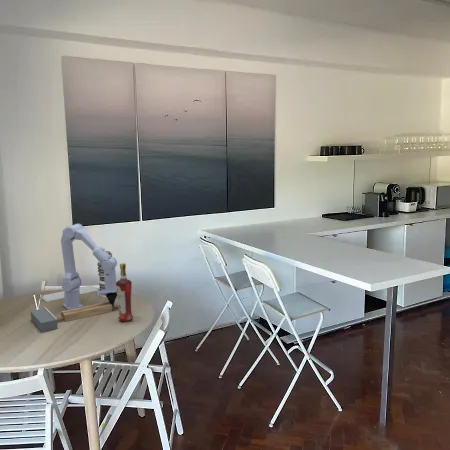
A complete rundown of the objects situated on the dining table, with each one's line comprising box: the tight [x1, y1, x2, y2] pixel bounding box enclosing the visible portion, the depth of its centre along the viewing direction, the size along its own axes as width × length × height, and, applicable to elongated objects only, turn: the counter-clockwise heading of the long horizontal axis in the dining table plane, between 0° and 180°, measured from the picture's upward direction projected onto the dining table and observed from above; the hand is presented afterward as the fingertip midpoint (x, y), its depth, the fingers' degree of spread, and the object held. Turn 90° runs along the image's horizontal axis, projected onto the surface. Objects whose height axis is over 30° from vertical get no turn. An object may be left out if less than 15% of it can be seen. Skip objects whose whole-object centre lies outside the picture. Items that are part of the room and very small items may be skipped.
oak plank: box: [55, 301, 113, 324], centre depth 236 cm, size 6×28×4 cm, turn 125°
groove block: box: [30, 306, 58, 333], centre depth 225 cm, size 20×7×5 cm, turn 35°
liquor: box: [116, 263, 134, 323], centre depth 227 cm, size 7×7×28 cm
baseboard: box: [38, 285, 100, 303], centre depth 271 cm, size 31×3×12 cm
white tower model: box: [97, 250, 113, 298], centre depth 267 cm, size 9×9×25 cm
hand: (111, 306), depth 244 cm, fingers closed
